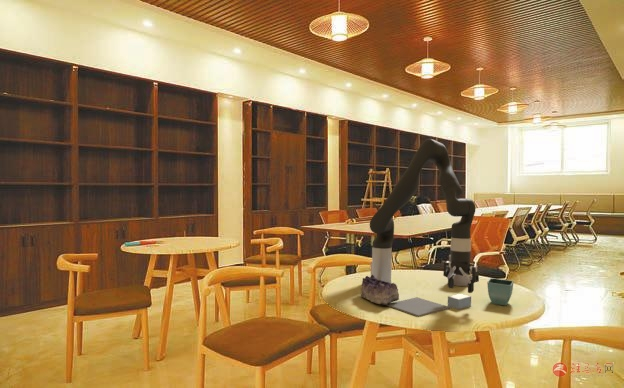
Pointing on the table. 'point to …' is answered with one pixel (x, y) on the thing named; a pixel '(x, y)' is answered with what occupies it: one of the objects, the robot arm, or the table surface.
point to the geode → (379, 291)
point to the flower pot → (500, 291)
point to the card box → (459, 301)
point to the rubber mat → (418, 306)
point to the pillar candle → (459, 278)
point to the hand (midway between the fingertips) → (460, 290)
